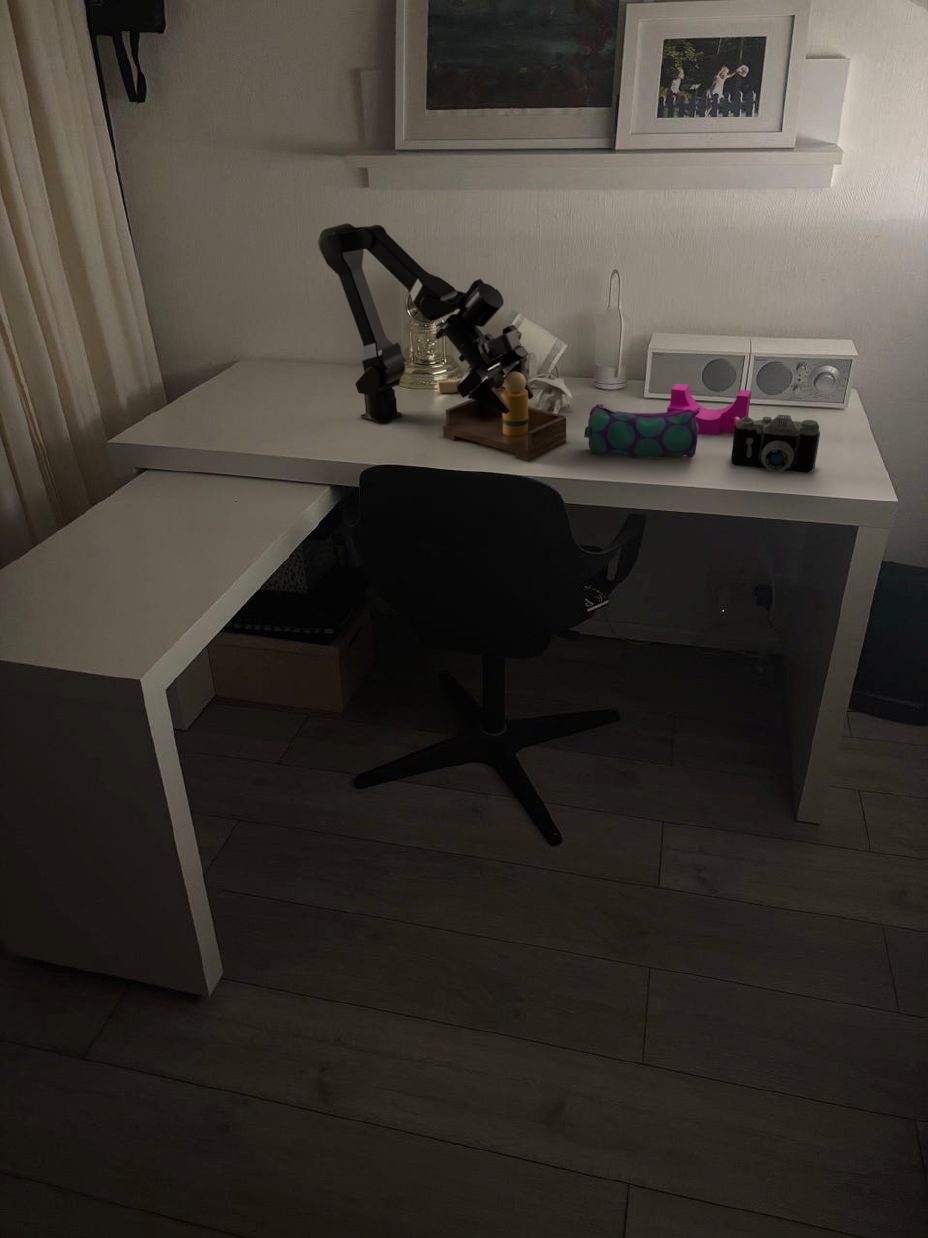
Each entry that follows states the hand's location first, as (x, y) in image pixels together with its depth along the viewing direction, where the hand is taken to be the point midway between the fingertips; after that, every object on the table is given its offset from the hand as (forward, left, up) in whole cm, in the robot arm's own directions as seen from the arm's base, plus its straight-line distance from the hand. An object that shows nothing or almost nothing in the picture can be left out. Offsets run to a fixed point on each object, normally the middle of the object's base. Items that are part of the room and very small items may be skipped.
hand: (520, 404), depth 188 cm
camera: (+45, +17, -8) cm, 49 cm away
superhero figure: (-7, +20, -8) cm, 23 cm away
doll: (-1, 0, -6) cm, 6 cm away
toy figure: (-29, +19, -8) cm, 36 cm away
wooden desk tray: (-4, 0, -8) cm, 9 cm away
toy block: (+25, +29, -8) cm, 39 cm away
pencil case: (+22, +9, -8) cm, 25 cm away
